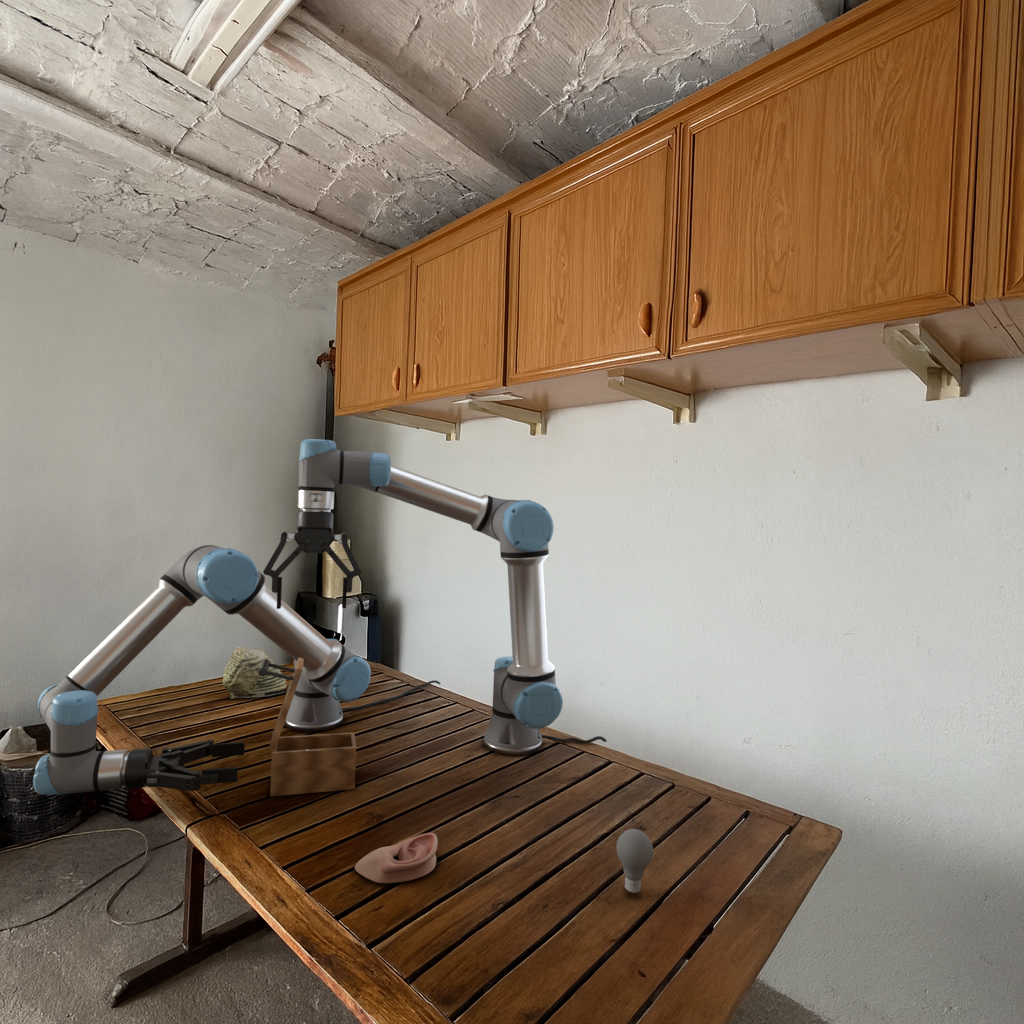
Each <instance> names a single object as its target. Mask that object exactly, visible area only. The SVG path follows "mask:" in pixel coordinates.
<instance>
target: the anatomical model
mask: <svg viewBox="0 0 1024 1024" xmlns="http://www.w3.org/2000/svg"><path fill="white" fill-rule="evenodd" d="M438 844H439V841H438V837H437V834H436V833H435V832H426V833H421V834H419V835H415V836H412V837H410V838H408V839H405V840H403V841H400V842H399V843H396V844H394V845H389V846H388V845H387V846H382V847H378V848H377V849H376V848H375V849H374V850H372V851H370V852H369V853H368V854H366V855H364V856H363V857H362V858H360V860H358V861H357V862H356V864H355V865H354V870H355V871H356V873H358V874H360V875H361V876H363V877H364V878H365V879H367V880H370V881H372V882H374V883H377V884H394V883H402V882H408V881H412V880H416V879H419V878H421V877H424V876H426V875H428V874H430V873H431V872H432V871H433V870H434V869H435V867H436V865H437V855H436V852H437V850H438V846H439V845H438Z"/></svg>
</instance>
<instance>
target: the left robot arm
mask: <svg viewBox="0 0 1024 1024" xmlns="http://www.w3.org/2000/svg"><path fill="white" fill-rule="evenodd" d="M256 565H257V564H255V562H254V561H253V559H251V557H250V556H248V555H247V554H245V553H244V552H242V551H240V550H238V549H234V548H230V547H228V548H226V547H222V546H217V545H214V544H206V545H200V546H197V547H195V548H193V549H191V550H189V551H187V552H186V553H185V554H184V555H183V556H182V557H180V558H179V559H178V560H177V561H176V562H175V563H174V564H173V565H172V566H171V567H170V568H169V569H168V570H166V572H165V573H164V574H163V575H162V576H161V577H160V578H158V586H157V587H156V588H155V589H154V590H153V591H152V592H151V593H150V594H149V595H148V596H147V597H146V598H145V599H144V600H143V601H142V602H141V603H140V604H139V605H138V606H137V607H136V608H135V609H134V610H133V611H132V612H131V613H130V614H129V615H128V616H127V617H125V619H123V621H122V622H120V623H119V625H118V626H116V628H115V629H113V630H112V631H111V632H110V633H109V635H107V636H106V637H105V639H104V640H102V641H101V642H100V643H99V644H98V645H97V646H96V647H95V648H94V649H93V650H92V651H91V652H90V653H89V654H88V655H87V656H85V658H84V659H83V660H82V661H81V662H80V663H78V665H76V667H75V668H73V670H72V671H70V672H69V674H68V675H66V677H64V678H63V679H62V680H61V681H60V682H59V683H54V684H53V685H51V686H49V687H46V688H45V689H44V690H43V691H42V693H41V694H40V695H39V697H38V700H37V709H38V713H39V715H40V717H41V718H42V720H43V721H45V724H46V726H47V727H48V729H49V730H50V752H49V754H45V755H42V756H41V757H40V758H39V759H38V761H37V763H36V765H35V768H34V775H33V777H32V785H33V789H34V791H35V792H36V794H38V795H43V796H49V795H52V796H53V795H59V796H64V795H69V794H79V793H89V792H103V791H108V792H109V793H113V792H114V791H115V790H123V789H124V788H127V789H128V790H131V789H142V788H162V789H163V788H164V789H170V790H180V791H185V792H186V791H187V792H194V791H200V790H201V785H213V784H215V785H216V784H225V783H227V784H228V783H236V782H238V771H239V770H238V769H239V768H238V766H233V767H232V766H231V767H219V768H207V769H206V768H205V769H201V771H197V770H194V769H191V768H187V767H184V766H185V765H187V764H189V763H193V762H196V761H198V760H202V759H204V758H208V757H210V756H211V758H221V757H222V758H223V757H235V756H237V757H238V756H245V751H246V750H245V749H246V748H245V747H246V742H245V741H235V742H222V743H221V742H220V743H214V739H205V740H202V741H197V742H193V743H188V744H183V745H179V746H175V747H165V748H162V749H161V754H159V755H155V754H154V751H153V749H152V748H150V747H145V748H144V747H143V748H133V749H131V750H129V749H128V748H127V749H126V748H125V749H112V750H101V751H100V750H97V732H98V731H97V728H98V714H99V713H98V712H99V706H98V696H100V694H102V692H103V691H104V690H106V688H107V687H108V686H110V684H111V683H112V682H113V681H114V680H115V679H116V678H117V677H118V676H119V675H120V674H121V673H122V672H123V671H124V670H125V669H126V668H127V667H128V666H129V665H130V664H131V663H132V662H133V661H134V660H135V659H136V657H137V656H139V654H140V653H141V652H142V651H143V650H144V649H145V648H147V647H148V646H149V644H150V643H151V642H152V641H153V640H154V639H155V638H157V636H158V635H159V634H160V633H161V632H162V631H163V630H164V629H165V628H166V627H167V626H168V625H169V624H170V623H171V622H172V621H173V620H174V619H176V617H177V616H178V615H179V614H180V613H181V612H182V611H183V610H184V609H185V608H188V607H193V606H194V605H195V604H196V603H197V602H198V601H199V600H200V599H201V598H203V597H205V598H207V600H209V601H211V602H212V603H213V604H214V605H215V606H217V607H218V609H220V610H222V611H223V612H224V613H225V614H227V615H229V616H231V615H239V616H240V617H242V618H243V619H244V620H245V621H246V622H248V623H249V624H250V625H252V626H253V627H254V628H255V629H256V630H258V631H259V632H260V633H261V634H263V635H264V636H265V637H266V638H267V639H269V640H270V641H271V642H272V643H274V644H275V645H276V646H277V647H279V648H280V649H281V650H282V651H283V652H284V653H286V654H287V655H288V656H289V657H291V658H292V659H293V660H294V668H293V669H295V666H296V663H297V660H298V658H303V659H304V662H303V670H302V673H301V676H300V679H299V682H298V685H297V688H296V691H295V694H294V696H293V699H292V702H291V705H290V708H289V711H288V714H287V717H286V720H285V726H286V728H287V729H289V730H291V731H294V732H295V731H296V732H301V733H316V732H325V731H329V730H332V729H335V728H337V727H339V726H340V725H342V723H343V722H344V713H343V712H345V711H351V710H352V711H353V710H359V709H364V708H367V707H372V706H376V705H379V704H383V703H387V702H391V701H394V700H396V699H400V698H401V697H402V698H403V697H404V696H405V695H408V694H409V693H412V692H414V691H416V690H417V689H419V688H422V687H425V686H427V685H430V684H434V683H436V684H437V685H441V682H440V681H439V680H436V679H435V680H430V681H427V682H424V683H422V684H419V685H417V686H415V687H413V688H411V689H409V690H406V691H405V692H402V693H401V694H399V695H395V696H393V697H390V698H386V699H382V700H378V701H374V702H371V703H367V704H362V705H357V706H350V707H343V708H342V706H341V702H343V703H350V702H353V701H357V700H358V699H359V698H360V697H361V696H362V695H363V694H364V693H365V692H366V690H367V689H368V687H369V685H370V682H371V675H372V670H371V666H370V664H369V662H368V661H366V660H365V659H364V658H363V657H361V656H359V655H358V656H357V655H355V654H354V653H353V652H351V651H350V649H348V648H347V647H345V646H344V645H343V644H342V643H341V642H340V641H339V640H338V639H336V638H326V637H325V636H324V635H322V634H321V633H320V632H319V631H318V630H317V629H315V628H314V626H312V625H311V624H310V623H308V621H306V620H305V619H304V618H303V617H302V616H301V615H300V614H299V613H297V612H296V611H295V610H294V609H293V608H291V606H290V605H288V604H287V603H286V602H285V601H283V600H282V599H281V608H280V609H277V594H275V593H273V592H272V589H270V588H268V586H267V585H266V581H267V578H266V575H265V574H264V573H263V572H261V571H260V570H258V568H257V566H256Z"/></svg>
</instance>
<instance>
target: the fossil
mask: <svg viewBox="0 0 1024 1024" xmlns="http://www.w3.org/2000/svg"><path fill="white" fill-rule="evenodd" d="M265 659H267V660H269V661H270V663H272V664H276V663H275V662H274V660H273V659H272V658H271V657H270V656H269V655H268V654H267V653H266V652H265V650H264V649H263V648H260V647H258V648H251V647H247V646H246V647H245V646H238V647H237V648H236V649H235V650H233V651H232V653H231V656H230V657H229V659H228V660H227V663H226V666H225V668H224V671H223V675H222V676H223V677H222V685H223V687H224V688H225V690H226V691H228V693H229V698H230V699H250V698H264V697H271V696H275V695H281V694H284V693H285V691H287V690H286V689H287V688H288V686H287V679H283V678H279V677H275V676H270V675H266V676H260V675H259V673H258V672H259V669H260V666H261V663H262V661H263V660H265ZM268 671H271V672H275V673H280V674H283V673H282V672H281V670H280V669H276V668H272V667H269V669H268Z"/></svg>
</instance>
